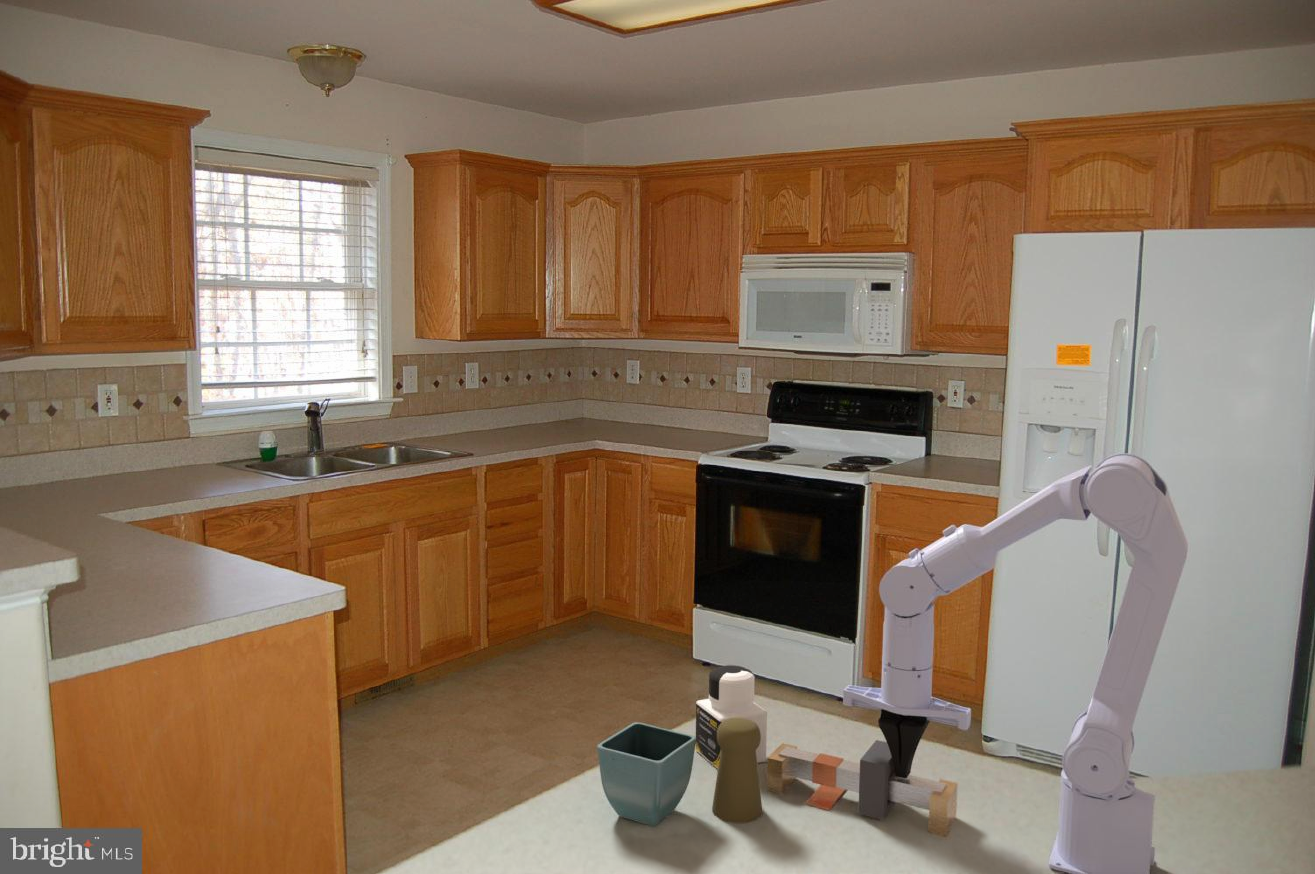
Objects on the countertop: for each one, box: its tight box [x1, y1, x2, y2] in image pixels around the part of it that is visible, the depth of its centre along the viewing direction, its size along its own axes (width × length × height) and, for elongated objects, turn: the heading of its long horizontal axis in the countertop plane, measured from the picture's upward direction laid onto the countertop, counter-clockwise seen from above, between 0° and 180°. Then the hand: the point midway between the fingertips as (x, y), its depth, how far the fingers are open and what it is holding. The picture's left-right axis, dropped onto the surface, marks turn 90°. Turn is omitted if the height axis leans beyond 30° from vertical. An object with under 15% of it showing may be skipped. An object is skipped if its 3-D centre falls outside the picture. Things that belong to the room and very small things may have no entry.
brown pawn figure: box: [711, 717, 764, 824], centre depth 116 cm, size 6×6×11 cm
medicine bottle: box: [695, 664, 768, 770], centre depth 130 cm, size 7×7×12 cm
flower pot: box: [596, 721, 696, 827], centre depth 115 cm, size 9×9×9 cm
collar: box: [857, 739, 896, 820], centre depth 117 cm, size 3×6×7 cm, turn 151°
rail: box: [766, 742, 958, 837], centre depth 118 cm, size 22×7×4 cm, turn 61°
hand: (902, 774), depth 115 cm, fingers closed
